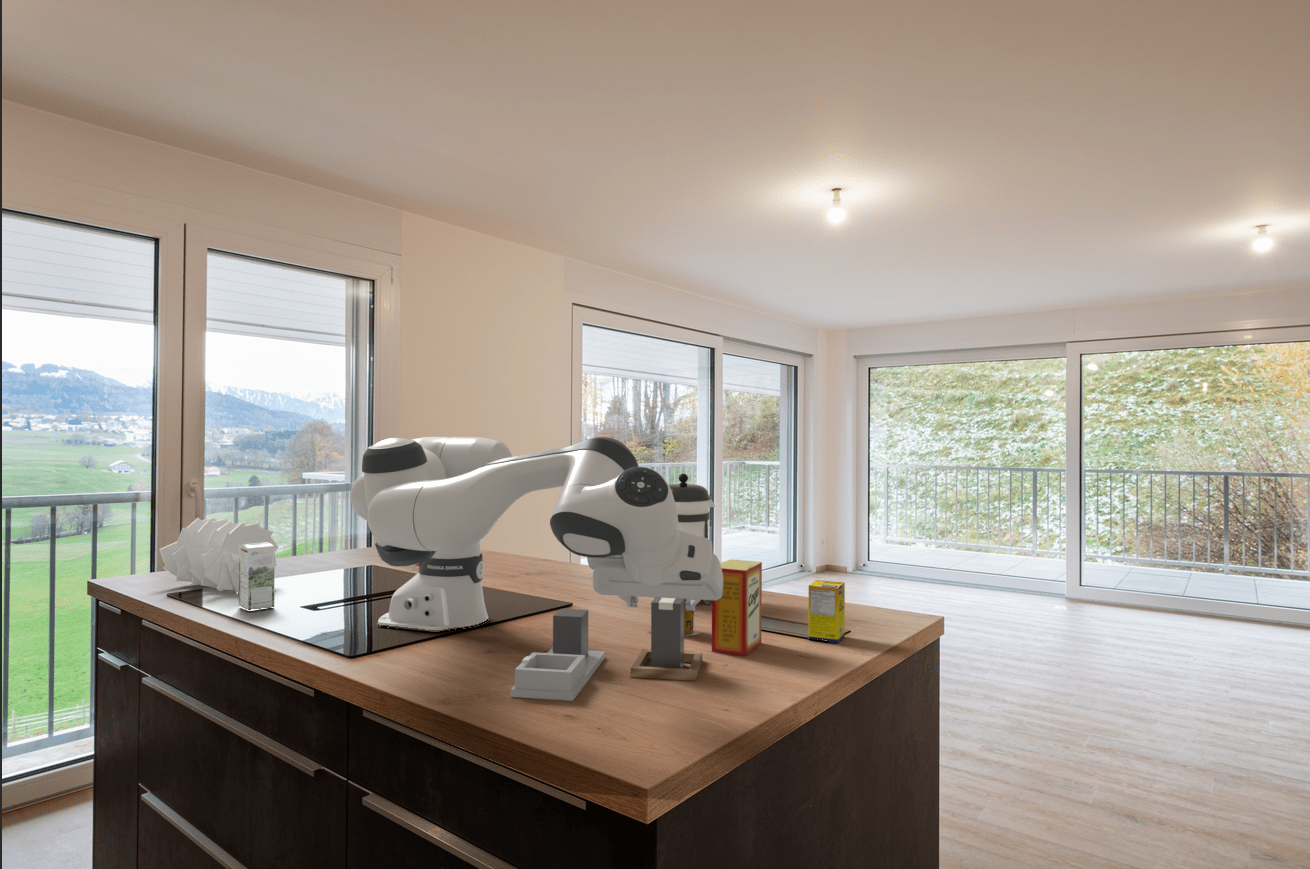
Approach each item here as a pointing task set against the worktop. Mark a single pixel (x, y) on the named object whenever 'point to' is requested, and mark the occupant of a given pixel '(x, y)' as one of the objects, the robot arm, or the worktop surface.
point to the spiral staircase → (212, 552)
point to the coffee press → (692, 508)
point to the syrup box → (256, 575)
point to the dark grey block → (667, 632)
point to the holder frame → (667, 673)
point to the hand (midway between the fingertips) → (662, 605)
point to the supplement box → (826, 611)
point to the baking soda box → (738, 609)
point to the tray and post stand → (559, 661)
